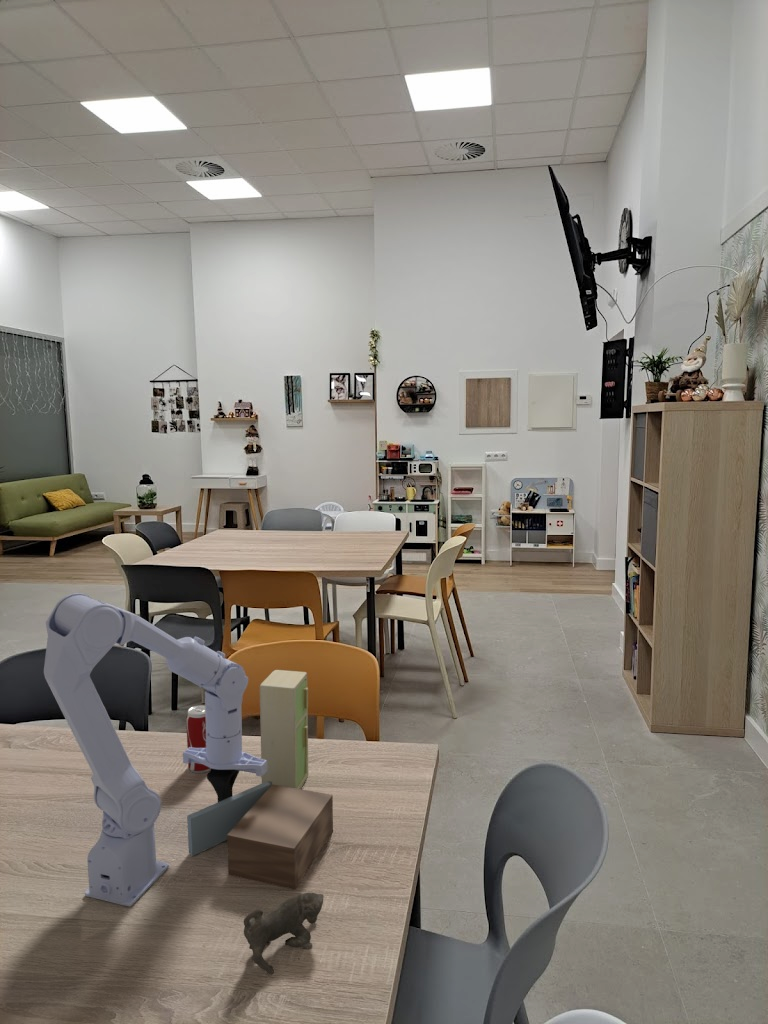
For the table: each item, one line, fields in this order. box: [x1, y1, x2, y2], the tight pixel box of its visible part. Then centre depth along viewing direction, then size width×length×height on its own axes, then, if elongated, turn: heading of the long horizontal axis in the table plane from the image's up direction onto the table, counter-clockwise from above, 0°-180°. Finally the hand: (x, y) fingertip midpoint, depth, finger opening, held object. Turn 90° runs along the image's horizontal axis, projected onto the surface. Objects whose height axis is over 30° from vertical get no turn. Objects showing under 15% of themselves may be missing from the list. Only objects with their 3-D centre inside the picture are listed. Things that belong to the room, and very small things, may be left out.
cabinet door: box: [186, 781, 272, 857], centre depth 114 cm, size 16×2×6 cm, turn 134°
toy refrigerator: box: [259, 669, 309, 789], centre depth 128 cm, size 8×7×21 cm
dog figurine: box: [243, 892, 324, 976], centre depth 90 cm, size 12×6×7 cm, turn 128°
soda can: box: [185, 704, 211, 774], centre depth 135 cm, size 5×5×12 cm
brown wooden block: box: [226, 784, 334, 890], centre depth 109 cm, size 15×11×6 cm
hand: (225, 808), depth 115 cm, fingers closed, pressing on cabinet door
